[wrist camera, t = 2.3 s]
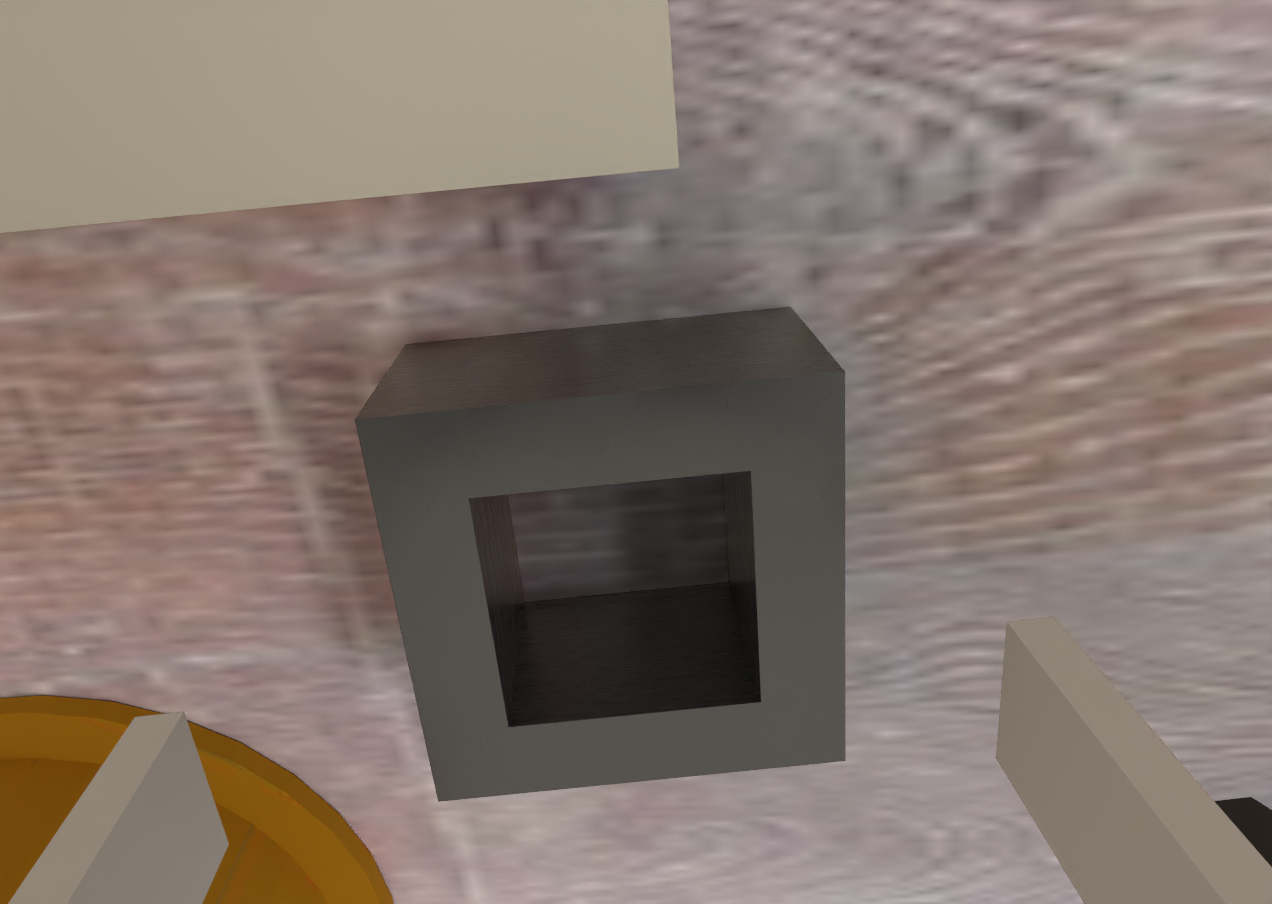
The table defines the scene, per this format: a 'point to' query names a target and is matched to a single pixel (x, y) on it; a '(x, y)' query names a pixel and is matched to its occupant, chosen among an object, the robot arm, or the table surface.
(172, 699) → the table surface
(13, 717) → the spool
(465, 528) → the steel link
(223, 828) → the robot arm
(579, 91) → the keeper board
